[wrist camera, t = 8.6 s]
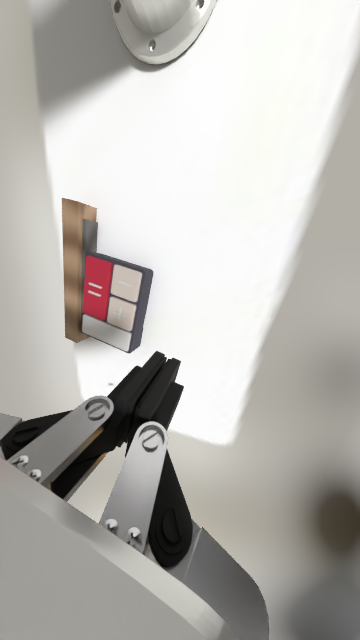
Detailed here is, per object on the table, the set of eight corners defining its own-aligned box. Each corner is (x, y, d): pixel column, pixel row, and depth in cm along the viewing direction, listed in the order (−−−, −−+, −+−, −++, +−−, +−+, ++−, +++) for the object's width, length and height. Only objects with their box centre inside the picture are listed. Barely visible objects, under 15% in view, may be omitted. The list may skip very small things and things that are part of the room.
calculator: (143, 270, 25) (127, 356, 30) (156, 270, 29) (140, 346, 34) (82, 250, 27) (77, 334, 32) (102, 253, 31) (95, 327, 36)
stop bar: (81, 204, 28) (61, 197, 25) (99, 209, 28) (81, 202, 24) (80, 331, 38) (65, 337, 34) (93, 336, 37) (79, 344, 34)
